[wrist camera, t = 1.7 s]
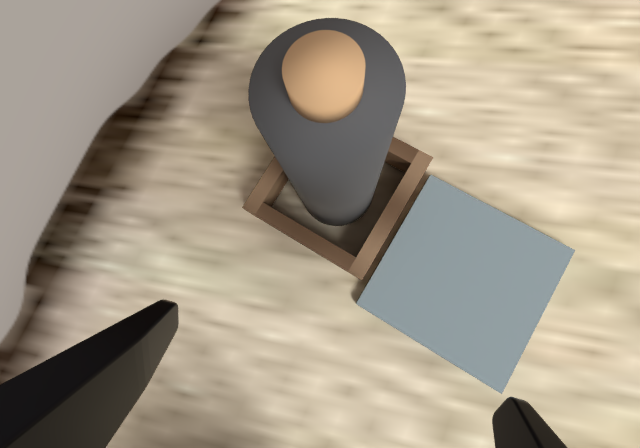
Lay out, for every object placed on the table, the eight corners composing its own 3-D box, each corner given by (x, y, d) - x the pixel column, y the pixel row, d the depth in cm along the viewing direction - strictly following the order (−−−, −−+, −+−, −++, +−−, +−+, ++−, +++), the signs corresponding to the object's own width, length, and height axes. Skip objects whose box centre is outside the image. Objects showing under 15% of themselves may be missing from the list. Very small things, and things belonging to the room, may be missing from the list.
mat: (496, 390, 19) (501, 393, 19) (355, 303, 21) (356, 304, 20) (568, 251, 20) (575, 250, 20) (428, 177, 22) (430, 174, 21)
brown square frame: (360, 279, 21) (362, 280, 19) (251, 213, 22) (242, 207, 21) (425, 167, 22) (433, 157, 20) (316, 110, 23) (313, 95, 21)
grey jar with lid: (350, 239, 22) (354, 182, 8) (289, 203, 22) (205, 100, 9) (386, 178, 22) (444, 33, 9) (325, 145, 23) (295, -34, 10)
